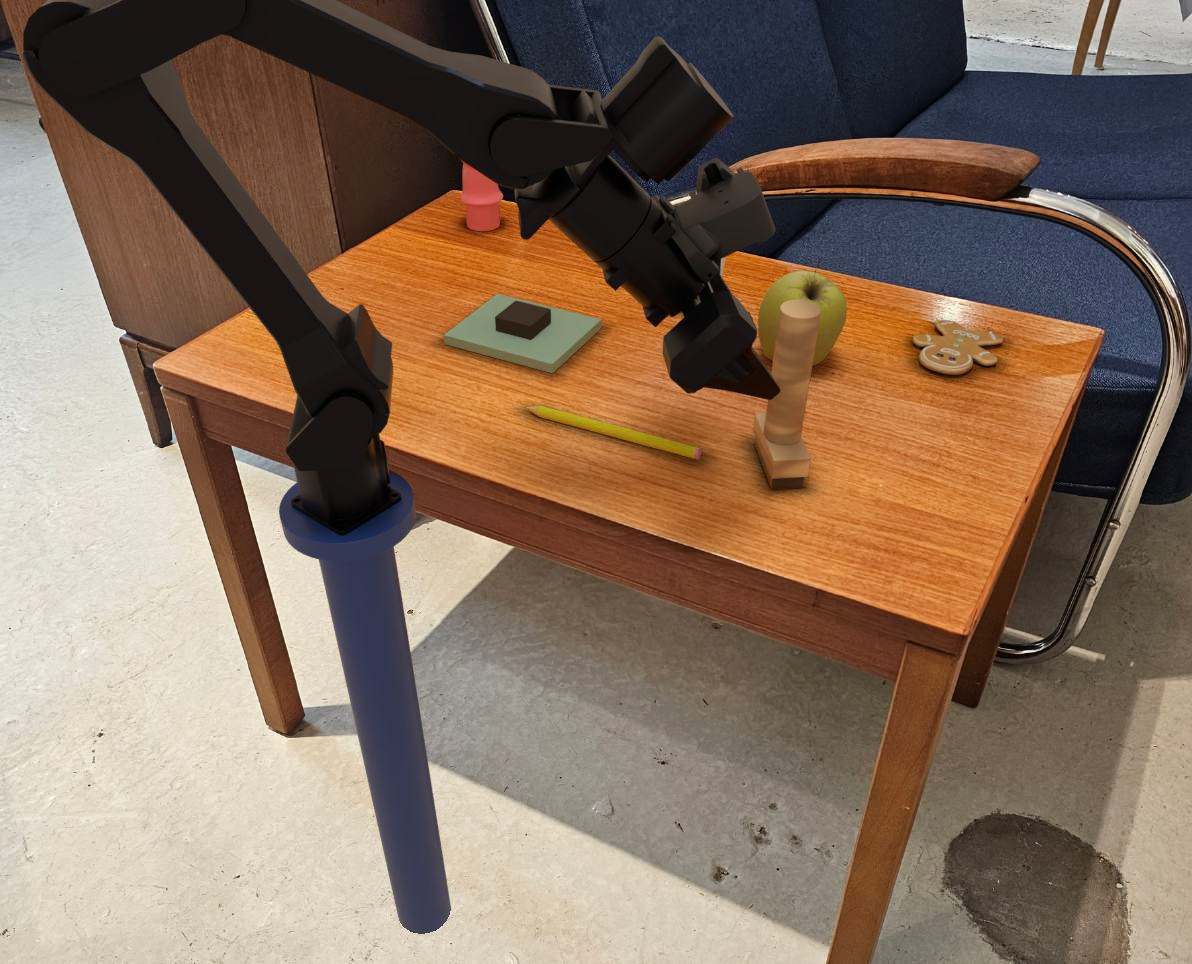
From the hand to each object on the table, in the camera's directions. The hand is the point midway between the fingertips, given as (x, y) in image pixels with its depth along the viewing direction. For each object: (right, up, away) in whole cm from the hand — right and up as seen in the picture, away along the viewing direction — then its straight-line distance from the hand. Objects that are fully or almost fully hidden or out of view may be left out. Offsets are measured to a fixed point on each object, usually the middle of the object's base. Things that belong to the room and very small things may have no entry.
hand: (761, 363), depth 80 cm
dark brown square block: (-20, +8, +22) cm, 31 cm away
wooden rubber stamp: (+2, -7, +7) cm, 10 cm away
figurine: (-26, +26, +43) cm, 57 cm away
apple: (+6, +4, +20) cm, 21 cm away
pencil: (-12, -4, +10) cm, 16 cm away
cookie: (+22, +6, +21) cm, 31 cm away
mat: (-20, +8, +23) cm, 31 cm away
